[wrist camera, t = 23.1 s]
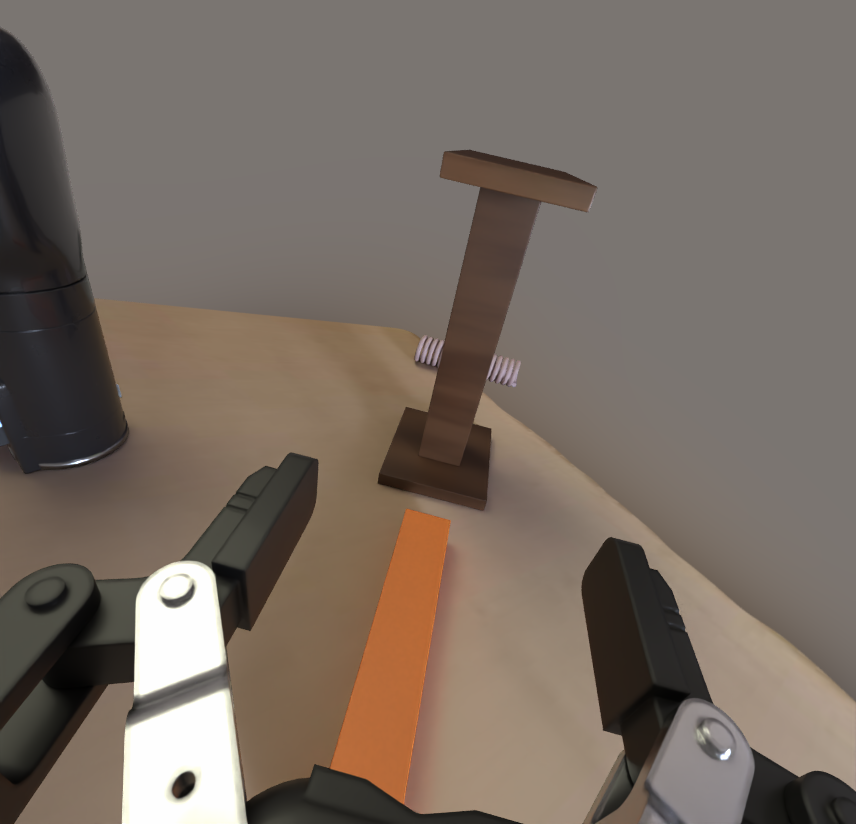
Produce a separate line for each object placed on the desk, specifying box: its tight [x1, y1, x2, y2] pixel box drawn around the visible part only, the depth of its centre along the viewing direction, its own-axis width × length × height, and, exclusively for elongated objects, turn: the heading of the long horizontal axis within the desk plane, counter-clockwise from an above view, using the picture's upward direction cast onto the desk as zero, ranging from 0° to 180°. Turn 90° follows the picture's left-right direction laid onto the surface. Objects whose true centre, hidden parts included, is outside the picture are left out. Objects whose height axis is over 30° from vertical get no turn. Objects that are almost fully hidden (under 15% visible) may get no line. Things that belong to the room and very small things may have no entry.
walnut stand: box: [378, 150, 597, 510], centre depth 43 cm, size 19×12×32 cm, turn 170°
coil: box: [414, 335, 521, 387], centre depth 71 cm, size 5×5×18 cm
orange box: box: [330, 509, 451, 805], centre depth 30 cm, size 25×4×3 cm, turn 170°
